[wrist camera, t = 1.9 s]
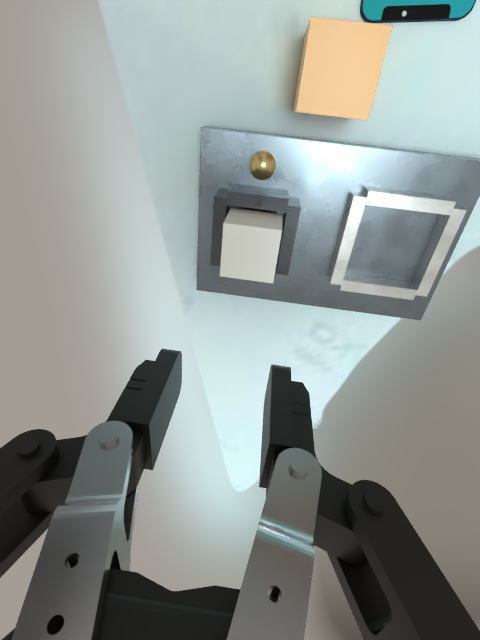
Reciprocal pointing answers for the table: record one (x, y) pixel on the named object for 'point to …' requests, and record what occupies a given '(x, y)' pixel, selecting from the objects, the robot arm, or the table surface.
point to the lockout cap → (340, 67)
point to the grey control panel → (336, 218)
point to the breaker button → (250, 245)
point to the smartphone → (414, 10)
